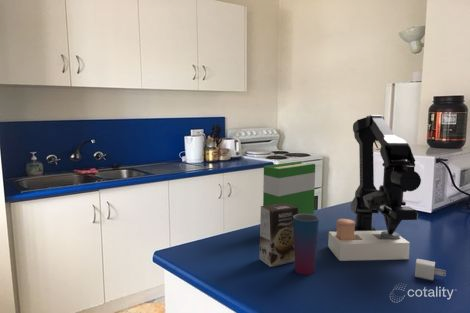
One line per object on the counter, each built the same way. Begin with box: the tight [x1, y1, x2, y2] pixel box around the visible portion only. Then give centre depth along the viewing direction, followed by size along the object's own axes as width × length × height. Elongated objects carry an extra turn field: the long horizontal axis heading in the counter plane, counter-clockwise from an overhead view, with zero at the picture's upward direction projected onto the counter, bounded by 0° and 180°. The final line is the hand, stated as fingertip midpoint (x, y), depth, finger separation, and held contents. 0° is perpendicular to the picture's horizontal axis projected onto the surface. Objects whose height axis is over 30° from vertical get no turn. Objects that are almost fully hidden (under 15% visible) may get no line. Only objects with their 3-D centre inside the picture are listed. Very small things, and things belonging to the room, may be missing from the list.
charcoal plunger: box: [381, 230, 401, 240], centre depth 113 cm, size 5×5×6 cm
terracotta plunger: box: [335, 218, 356, 240], centre depth 112 cm, size 5×5×6 cm
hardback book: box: [262, 160, 316, 215], centre depth 130 cm, size 18×7×24 cm, turn 127°
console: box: [327, 230, 411, 262], centre depth 113 cm, size 11×21×5 cm, turn 93°
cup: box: [293, 214, 320, 276], centre depth 100 cm, size 7×7×15 cm
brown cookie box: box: [259, 203, 298, 268], centre depth 106 cm, size 9×6×16 cm
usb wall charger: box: [414, 258, 447, 282], centre depth 97 cm, size 4×7×4 cm, turn 60°
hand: (390, 233), depth 113 cm, fingers closed, pressing on charcoal plunger
